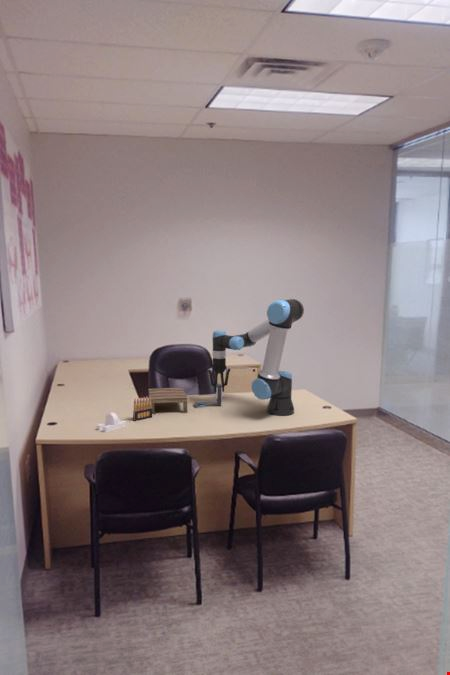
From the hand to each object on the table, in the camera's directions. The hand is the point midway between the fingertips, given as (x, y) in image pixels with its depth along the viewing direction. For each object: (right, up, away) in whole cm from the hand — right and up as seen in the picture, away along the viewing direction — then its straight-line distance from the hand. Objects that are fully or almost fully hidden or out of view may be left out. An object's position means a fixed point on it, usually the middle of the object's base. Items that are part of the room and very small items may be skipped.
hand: (219, 397), depth 292 cm
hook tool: (-6, -5, -1) cm, 8 cm away
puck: (-10, -5, -1) cm, 12 cm away
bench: (-29, -5, -5) cm, 30 cm away
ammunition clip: (-40, -9, -26) cm, 49 cm away
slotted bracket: (-53, -11, -41) cm, 68 cm away
